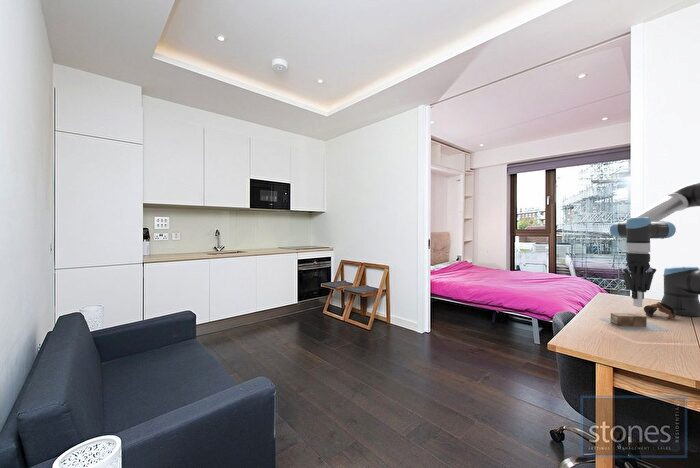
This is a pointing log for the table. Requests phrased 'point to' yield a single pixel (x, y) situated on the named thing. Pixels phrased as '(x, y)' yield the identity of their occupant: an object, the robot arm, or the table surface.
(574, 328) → the table surface
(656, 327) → the mat
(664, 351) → the table surface
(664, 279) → the robot arm
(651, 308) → the brown curved arch
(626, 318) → the walnut block
